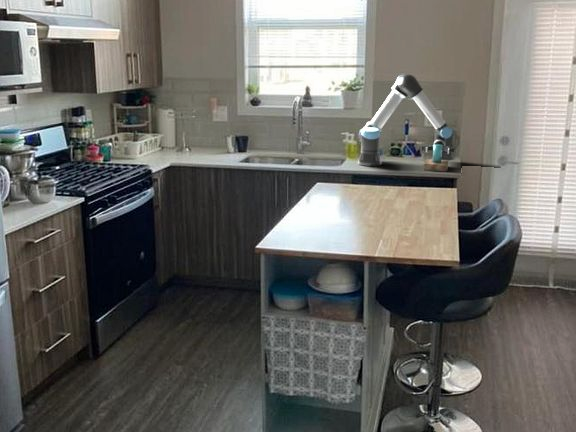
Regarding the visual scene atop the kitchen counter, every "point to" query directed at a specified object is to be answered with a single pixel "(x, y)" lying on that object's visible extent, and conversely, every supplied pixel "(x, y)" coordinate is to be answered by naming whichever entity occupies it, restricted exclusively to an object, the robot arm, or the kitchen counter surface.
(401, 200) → the kitchen counter surface
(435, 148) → the teal jar
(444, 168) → the walnut base
